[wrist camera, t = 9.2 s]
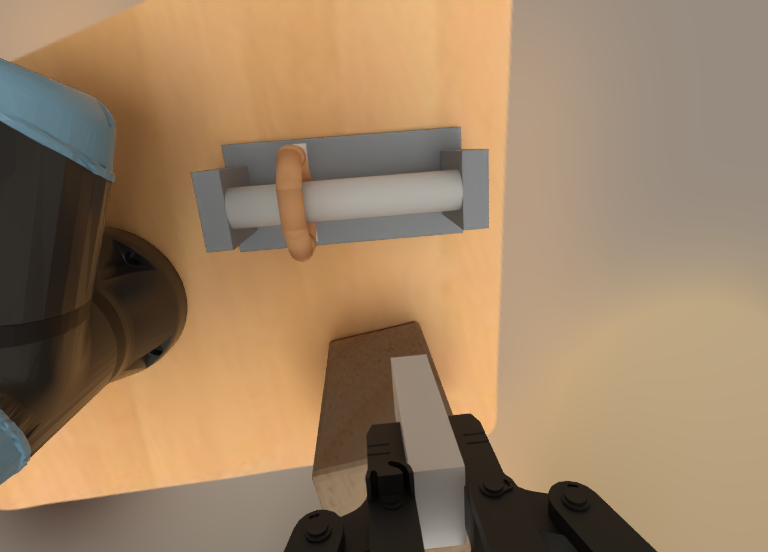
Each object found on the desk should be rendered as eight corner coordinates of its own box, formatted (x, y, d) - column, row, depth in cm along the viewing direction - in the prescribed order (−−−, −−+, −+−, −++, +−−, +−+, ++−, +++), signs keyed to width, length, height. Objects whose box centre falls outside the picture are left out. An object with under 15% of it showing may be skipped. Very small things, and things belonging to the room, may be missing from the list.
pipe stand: (243, 249, 42) (211, 277, 33) (224, 145, 39) (184, 143, 30) (460, 230, 43) (489, 253, 34) (458, 127, 40) (488, 120, 31)
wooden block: (418, 319, 46) (463, 441, 27) (435, 397, 49) (487, 558, 30) (328, 340, 46) (308, 477, 27) (350, 417, 49) (347, 591, 30)
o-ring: (300, 246, 39) (285, 272, 31) (287, 146, 36) (267, 145, 28) (320, 244, 39) (310, 270, 31) (308, 144, 36) (294, 143, 28)
